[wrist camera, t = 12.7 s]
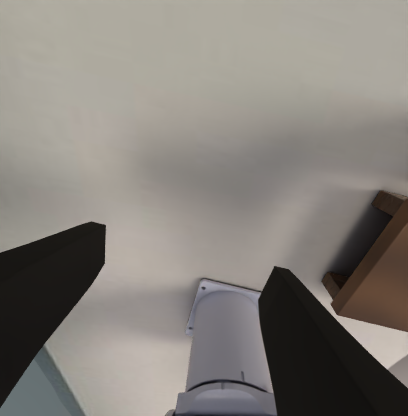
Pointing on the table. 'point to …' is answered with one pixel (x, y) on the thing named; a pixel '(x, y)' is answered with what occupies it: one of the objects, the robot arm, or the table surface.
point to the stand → (378, 273)
